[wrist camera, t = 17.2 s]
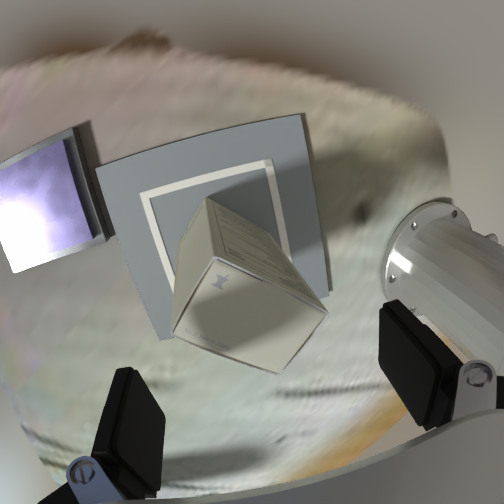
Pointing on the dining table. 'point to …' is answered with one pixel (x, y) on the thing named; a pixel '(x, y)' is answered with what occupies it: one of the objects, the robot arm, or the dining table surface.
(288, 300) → the skincare box
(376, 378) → the dining table surface
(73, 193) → the ink pad
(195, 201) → the card
